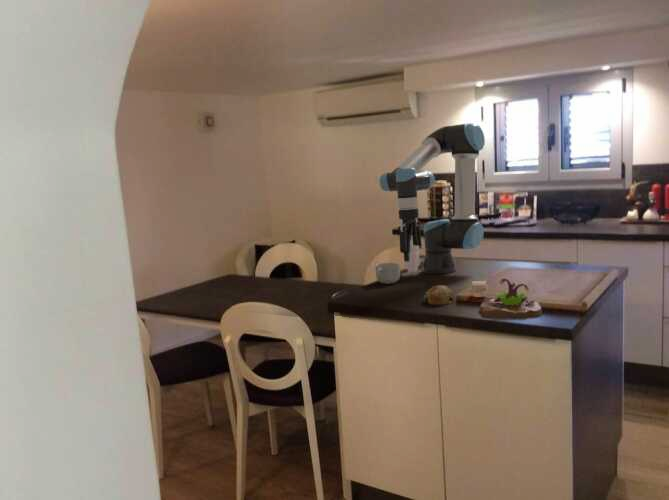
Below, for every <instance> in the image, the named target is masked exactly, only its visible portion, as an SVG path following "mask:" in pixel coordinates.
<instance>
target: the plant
mask: <svg viewBox="0 0 669 500" xmlns="http://www.w3.org/2000/svg"><path fill="white" fill-rule="evenodd" d="M505 282H507V286H508V292H506V291H502V292H501V293H502V294H501V293H498V292H496V293H495V295H496V296H497V297H494V298H487V299H486V300H484V301H483V302H481V304H480V305H479V312H480V313H482V314H483V317H486V318H502V319H503V318H505V319H507V318H508V319H509V318H510V319H527V318H530V317H534V318H535V317H539V316H542V314H543V309H542V301H540V300H538V299H536V300H535V298H532V299H530V298H531V297H527V296H525V295H527V292H522V293H520V294H519V293H518V292H519V291H518V289H519V288H520V287H522V286H523V287H524V290H525V291H529V289H530V288H529V286H528V285H526V284H524V283H519V284H518V285H516V283H515V282H511V281H510V280H509V279H507V278H501V279H500V280H499V283H500V285H503V284H504V283H505ZM518 294H519V295H518Z"/></svg>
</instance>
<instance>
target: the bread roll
mask: <svg viewBox="0 0 669 500" xmlns="http://www.w3.org/2000/svg"><path fill="white" fill-rule="evenodd" d="M423 298H424V301H425V302H426V303H427V304H429V305H433V306H437V305H438V306H443V305H450V304H451V303H453V302H454V299H455V293H454V292H453V290H452V289H451V288H450V287H447V286H446V285H442V284H441V285H440V284H439V285H434V286H432V287H431V288H429V289H428V290H427V291H426V292H425V294H424V297H423Z"/></svg>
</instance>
